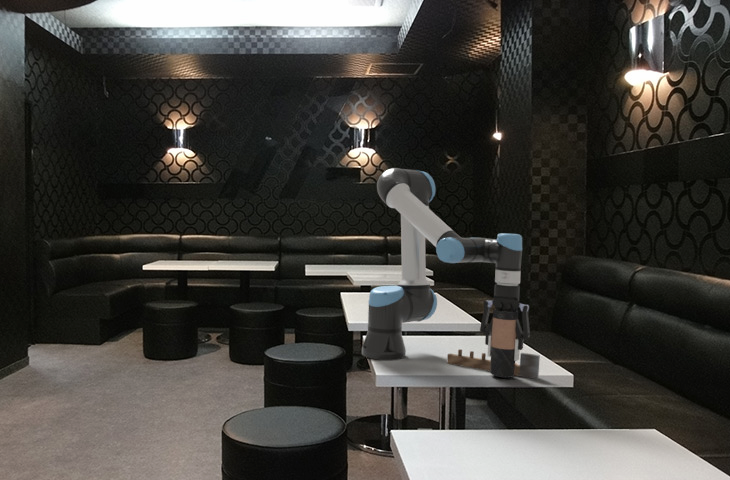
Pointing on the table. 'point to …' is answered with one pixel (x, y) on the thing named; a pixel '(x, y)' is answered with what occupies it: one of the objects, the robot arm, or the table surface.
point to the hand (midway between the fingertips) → (503, 357)
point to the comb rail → (526, 367)
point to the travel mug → (503, 343)
